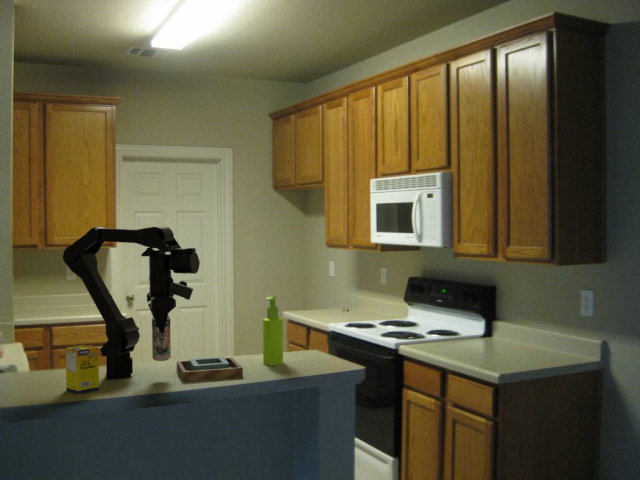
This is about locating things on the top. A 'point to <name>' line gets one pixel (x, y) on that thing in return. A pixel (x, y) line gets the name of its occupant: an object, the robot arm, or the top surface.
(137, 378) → the top surface
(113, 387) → the top surface
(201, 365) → the bore plate
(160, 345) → the beer can
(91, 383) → the supplement box
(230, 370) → the walnut box
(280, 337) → the soap dispenser
